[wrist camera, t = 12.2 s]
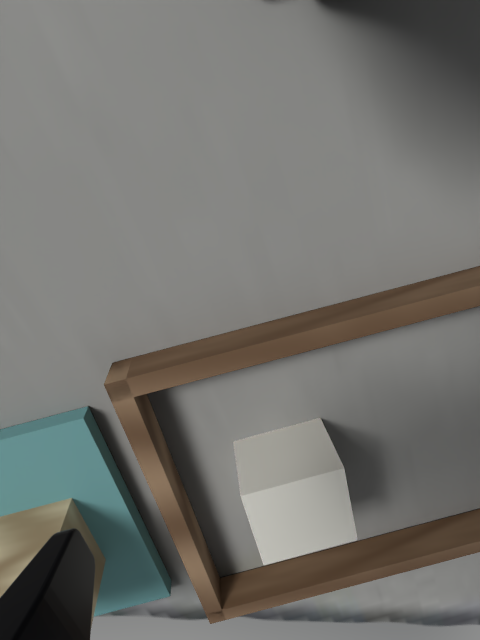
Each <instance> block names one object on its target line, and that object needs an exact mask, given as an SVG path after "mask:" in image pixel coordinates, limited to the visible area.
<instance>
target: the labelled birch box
mask: <svg viewBox="0 0 480 640" xmlns="http://www.w3.org/2000/svg"><path fill="white" fill-rule="evenodd" d="M72 528H76V529H78V530H79V531H80V533H81V534H82V536H83V538H84V540H85V541H86V543H87V545H88V547H89V548H90V550H91V552H92V553H93V556H94V559H95V579H94V592H93V605H92V618H91V625H92V621H93V616H94V612H95V607H96V603H97V598H98V593H99V589H100V584H101V580H102V575H103V571H104V566H105V561H106V559H105V557H104V555H103V554H102V552H101V550H100V548H99V546H98V544H97V543H96V541H95V539H94V537H93V535H92V534H91V532H90V530H89V528H88V526H87V524H86V523H85V521H84V519H83V517H82V515H81V514H80V512H79V510H78V508H77V506H76V505H75V503H74V501H73V499H72V498H70V499H66V500H62V501H58V502H54V503H51V504H47V505H43V506H39V507H35V508H31V509H28V510H24V511H20V512H16V513H12V514H8V515H5V516H1V517H0V597H1V596H2V595H3V594H4V592H5V591H6V590H7V589H8V588H9V586H10V585H11V584H12V583H13V582H14V580H15V579H16V578H17V577H18V576H19V574H20V573H21V572H22V571H23V570H24V568H25V567H26V566H27V565H28V564H29V562H30V561H31V560H32V559H33V558H34V556H35V555H36V554H37V553H38V552H39V550H40V549H41V548H42V547H43V546H44V544H45V543H46V542H47V541H48V540H49V538H50V537H51V536H52V535H54V534H55V533H57V532H61V531H64V530H68V529H72Z"/></svg>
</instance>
